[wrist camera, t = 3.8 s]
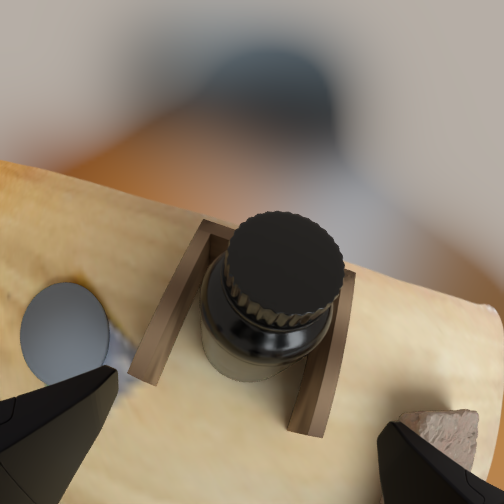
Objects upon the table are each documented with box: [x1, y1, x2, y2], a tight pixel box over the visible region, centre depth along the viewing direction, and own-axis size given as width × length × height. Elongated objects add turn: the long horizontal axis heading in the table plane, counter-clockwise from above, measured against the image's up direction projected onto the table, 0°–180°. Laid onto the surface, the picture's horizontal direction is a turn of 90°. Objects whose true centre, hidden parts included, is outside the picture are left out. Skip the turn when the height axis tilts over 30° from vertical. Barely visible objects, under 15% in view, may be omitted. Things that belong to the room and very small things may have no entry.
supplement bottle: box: [200, 211, 345, 382], centre depth 15 cm, size 7×7×12 cm
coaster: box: [20, 282, 110, 385], centre depth 17 cm, size 9×9×1 cm
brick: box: [380, 409, 479, 504], centre depth 12 cm, size 17×8×5 cm, turn 167°
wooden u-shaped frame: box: [127, 219, 356, 438], centre depth 18 cm, size 12×12×4 cm
